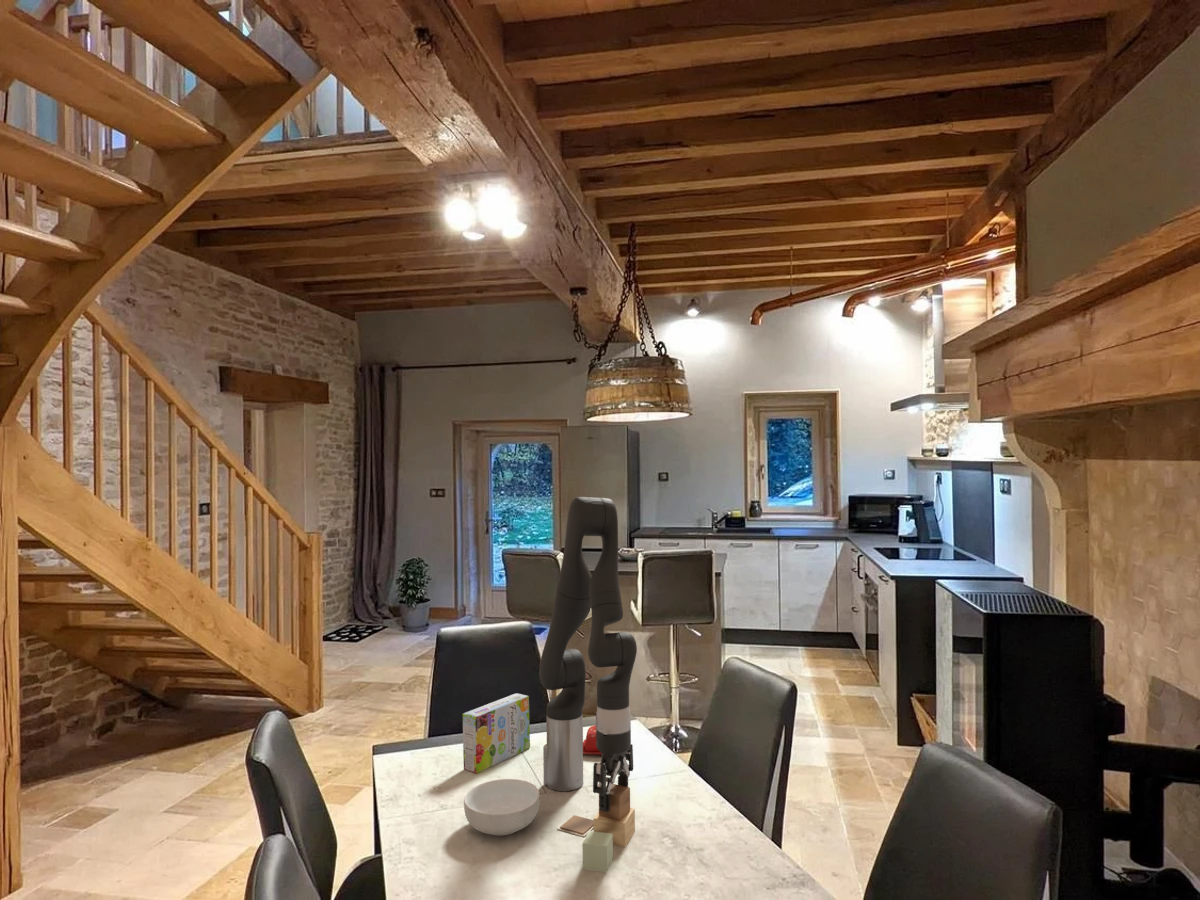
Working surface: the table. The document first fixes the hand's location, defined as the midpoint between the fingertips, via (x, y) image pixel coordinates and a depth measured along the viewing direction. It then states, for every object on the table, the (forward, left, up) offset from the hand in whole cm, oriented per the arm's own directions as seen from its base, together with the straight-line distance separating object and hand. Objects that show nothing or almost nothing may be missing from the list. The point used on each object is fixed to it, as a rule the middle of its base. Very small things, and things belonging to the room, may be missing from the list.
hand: (614, 802), depth 150 cm
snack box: (-48, +22, -7) cm, 53 cm away
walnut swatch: (-9, 0, -7) cm, 11 cm away
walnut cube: (0, 0, -2) cm, 2 cm away
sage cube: (+2, -11, -7) cm, 13 cm away
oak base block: (0, 0, -7) cm, 7 cm away
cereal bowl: (-24, -8, -7) cm, 26 cm away
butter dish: (-25, +41, -8) cm, 49 cm away
